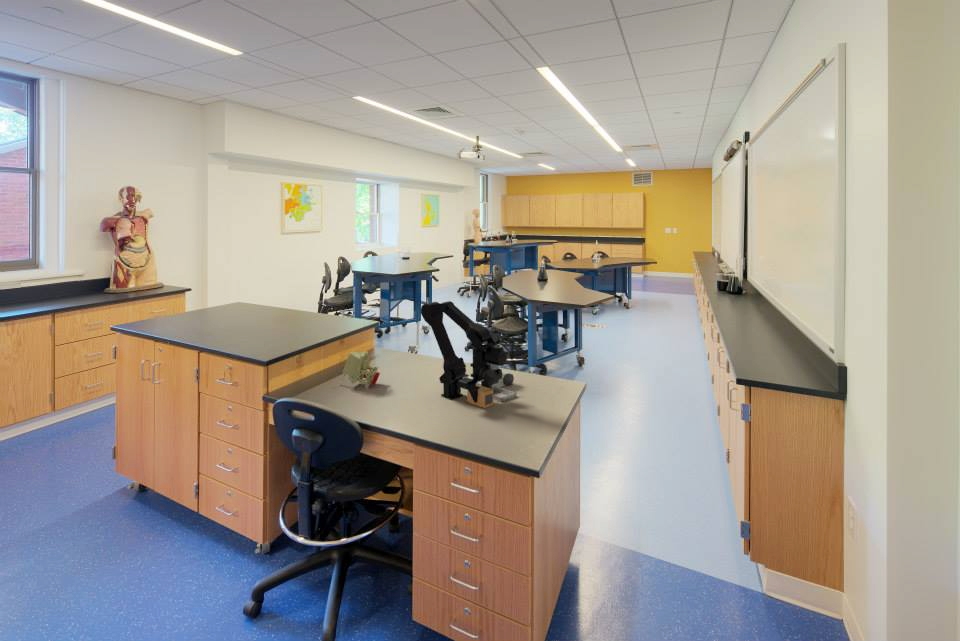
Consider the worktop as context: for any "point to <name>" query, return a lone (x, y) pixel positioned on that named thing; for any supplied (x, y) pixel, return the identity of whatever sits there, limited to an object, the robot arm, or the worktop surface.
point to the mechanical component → (360, 369)
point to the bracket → (510, 393)
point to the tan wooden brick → (482, 397)
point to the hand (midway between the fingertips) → (480, 400)
